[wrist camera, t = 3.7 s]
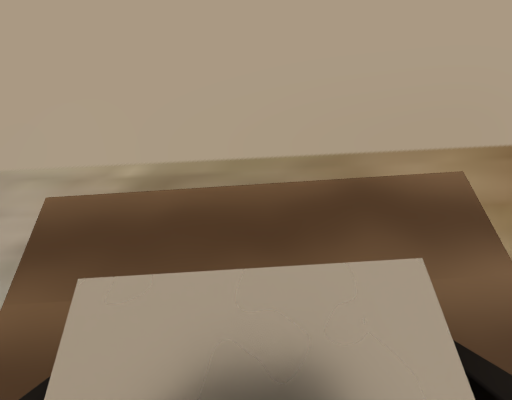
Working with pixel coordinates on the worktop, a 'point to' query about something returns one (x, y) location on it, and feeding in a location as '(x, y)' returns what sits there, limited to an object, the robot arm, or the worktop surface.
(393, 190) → the walnut pocket block
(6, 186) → the worktop surface
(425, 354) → the aluminium bar
